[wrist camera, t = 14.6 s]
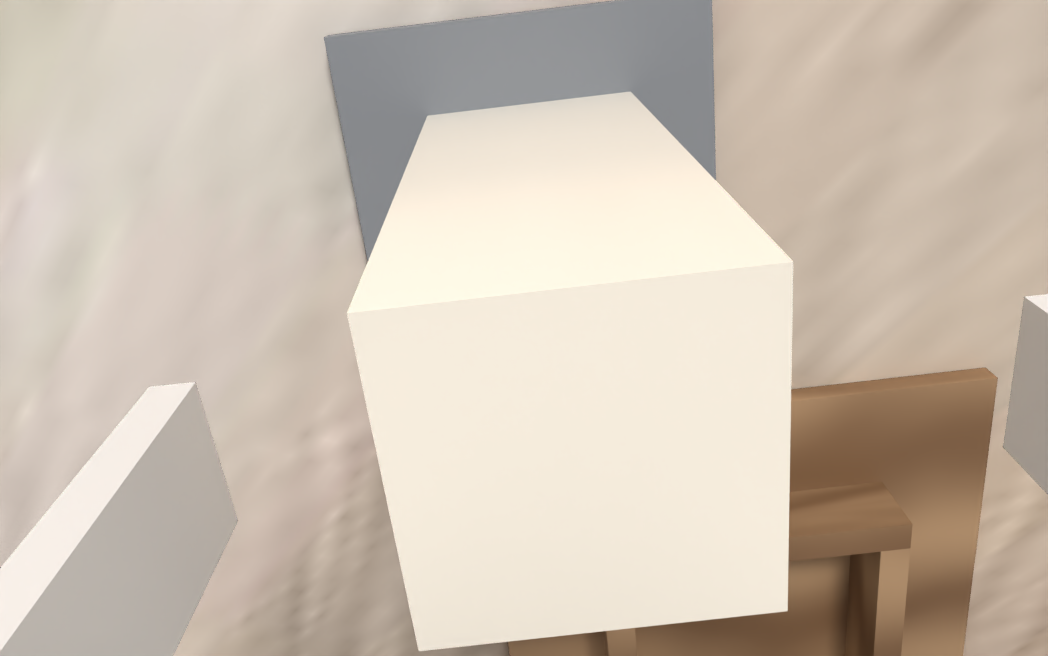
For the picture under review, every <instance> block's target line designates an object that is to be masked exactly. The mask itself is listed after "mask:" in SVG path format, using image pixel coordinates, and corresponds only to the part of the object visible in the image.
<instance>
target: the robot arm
mask: <svg viewBox="0 0 1048 656" xmlns="http://www.w3.org/2000/svg"><path fill="white" fill-rule="evenodd" d="M1003 448H1004V449H1005V450H1006V451H1007V452H1008V453H1009V454H1010V455H1011V456H1012V457H1013V458H1014V460H1015V461H1016V462H1017V463H1018V464H1019V465H1020V466H1021V467H1022V468H1023V469H1024V470H1025V471H1026V472H1027V473H1028V474H1029V475H1030V476H1031V477H1032V478H1033V480H1034V481H1035V482H1036V483H1037V484H1038V485H1039V486H1040V487H1041V488H1042V489H1043V490H1044V491H1045V492H1046V493H1047V494H1048V294H1045V295H1035V296H1026V297H1024V301H1023V309H1022V316H1021V323H1020V330H1019V337H1018V344H1017V351H1016V358H1015V365H1014V373H1013V380H1012V387H1011V394H1010V401H1009V408H1008V415H1007V422H1006V430H1005V437H1004V444H1003ZM237 522H238V519H237V516H236V512H235V509H234V506H233V503H232V499H231V496H230V493H229V489H228V486H227V483H226V480H225V476H224V473H223V470H222V467H221V463H220V460H219V457H218V453H217V450H216V447H215V444H214V440H213V437H212V434H211V431H210V427H209V424H208V421H207V418H206V414H205V411H204V408H203V404H202V401H201V398H200V395H199V391H198V388H197V385H196V382H191V383H181V384H171V385H162V386H152V387H149V388H148V389H147V390H146V391H145V393H144V394H143V395H142V396H141V397H140V399H139V400H138V401H137V402H136V404H135V405H134V406H133V407H132V408H131V410H130V411H129V412H128V413H127V414H126V416H125V417H124V418H123V419H122V421H121V422H120V423H119V424H118V425H117V427H116V428H115V429H114V430H113V432H112V433H111V434H110V435H109V436H108V438H107V439H106V440H105V441H104V443H103V444H102V445H101V446H100V447H99V449H98V450H97V451H96V452H95V453H94V455H93V456H92V457H91V458H90V460H89V461H88V462H87V463H86V464H85V466H84V467H83V468H82V469H81V471H80V472H79V473H78V474H77V475H76V477H75V478H74V479H73V480H72V481H71V483H70V484H69V485H68V486H67V488H66V489H65V490H64V491H63V492H62V494H61V495H60V496H59V497H58V499H57V500H56V501H55V502H54V503H53V505H52V506H51V507H50V508H49V510H48V511H47V512H46V513H45V514H44V516H43V517H42V518H41V519H40V520H39V522H38V523H37V524H36V525H35V527H34V528H33V529H32V530H31V531H30V533H29V534H28V535H27V536H26V538H25V539H24V540H23V541H22V542H21V544H20V545H19V546H18V547H17V548H16V550H15V551H14V552H13V553H12V555H11V556H10V557H9V558H8V559H7V561H6V562H5V563H4V564H3V566H2V567H0V656H173V655H174V653H175V651H176V649H177V647H178V645H179V643H180V641H181V639H182V637H183V634H184V632H185V630H186V628H187V626H188V624H189V622H190V620H191V618H192V616H193V614H194V612H195V609H196V607H197V605H198V603H199V601H200V599H201V597H202V595H203V593H204V591H205V589H206V587H207V584H208V582H209V580H210V578H211V576H212V574H213V572H214V570H215V568H216V566H217V564H218V562H219V560H220V557H221V555H222V553H223V551H224V549H225V547H226V545H227V543H228V541H229V539H230V537H231V535H232V532H233V530H234V528H235V526H236V524H237Z"/></svg>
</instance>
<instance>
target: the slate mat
mask: <svg viewBox="0 0 1048 656" xmlns="http://www.w3.org/2000/svg"><path fill="white" fill-rule="evenodd" d="M324 41H325V46H326V51H327V56H328V61H329V66H330V71H331V76H332V82H333V87H334V92H335V97H336V102H337V107H338V112H339V117H340V122H341V127H342V132H343V138H344V143H345V148H346V153H347V158H348V163H349V168H350V173H351V178H352V183H353V188H354V194H355V199H356V204H357V209H358V214H359V219H360V224H361V229H362V234H363V239H364V244H365V249H366V255H367V260H369V258H370V255H371V253H372V250H373V248H374V246H375V243H376V241H377V238H378V236H379V233H380V231H381V228H382V226H383V223H384V221H385V219H386V216H387V214H388V211H389V209H390V206H391V204H392V201H393V199H394V196H395V194H396V192H397V189H398V187H399V184H400V182H401V179H402V177H403V174H404V172H405V169H406V167H407V165H408V162H409V160H410V157H411V155H412V152H413V150H414V147H415V145H416V142H417V140H418V138H419V135H420V133H421V130H422V128H423V125H424V123H425V120H426V118H427V116H429V115H438V114H446V113H454V112H463V111H471V110H479V109H488V108H496V107H505V106H513V105H521V104H530V103H538V102H546V101H555V100H563V99H572V98H580V97H588V96H597V95H605V94H614V93H622V92H630V91H631V92H632V93H633V95H634V96H635V97H636V98H637V99H638V100H639V101H640V102H641V103H642V104H643V105H644V106H645V107H646V108H647V109H648V110H649V111H650V112H651V113H652V114H653V115H654V116H655V118H656V119H657V120H658V121H659V122H660V123H661V124H662V125H663V126H664V127H665V128H666V129H667V130H668V131H669V132H670V133H671V134H672V135H673V136H674V137H675V138H676V140H677V141H678V142H679V143H680V144H681V145H682V146H683V147H684V148H685V149H686V150H687V151H688V152H689V153H690V154H691V155H692V156H693V157H694V158H695V159H696V160H697V161H698V163H699V164H700V165H701V166H702V167H703V168H704V169H705V170H706V171H707V172H708V173H709V174H710V175H711V176H712V177H713V178H714V179H715V180H716V164H715V117H714V71H713V25H712V0H615V1H606V2H598V3H590V4H582V5H573V6H565V7H557V8H549V9H540V10H532V11H524V12H516V13H507V14H499V15H491V16H483V17H474V18H466V19H458V20H450V21H441V22H433V23H425V24H417V25H408V26H400V27H392V28H384V29H375V30H367V31H359V32H351V33H342V34H334V35H328V36H326V37H324Z"/></svg>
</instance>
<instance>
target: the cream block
mask: <svg viewBox="0 0 1048 656" xmlns="http://www.w3.org/2000/svg"><path fill="white" fill-rule="evenodd" d="M792 309H793V261H792V260H791V259H790V258H789V257H788V256H787V255H786V254H785V253H784V251H783V250H782V249H781V248H780V247H779V246H778V245H777V244H776V243H775V242H774V241H773V240H772V239H771V238H770V237H769V236H768V235H767V234H766V233H765V232H764V231H763V229H762V228H761V227H760V226H759V225H758V224H757V223H756V222H755V221H754V220H753V219H752V218H751V217H750V216H749V215H748V214H747V213H746V212H745V211H744V210H743V209H742V208H741V206H740V205H739V204H738V203H737V202H736V201H735V200H734V199H733V198H732V197H731V196H730V195H729V194H728V193H727V192H726V191H725V190H724V189H723V188H722V187H721V186H720V185H719V183H718V182H717V181H716V180H715V179H714V178H713V177H712V176H711V175H710V174H709V173H708V172H707V171H706V170H705V169H704V168H703V167H702V166H701V165H700V164H699V163H698V161H697V160H696V159H695V158H694V157H693V156H692V155H691V154H690V153H689V152H688V151H687V150H686V149H685V148H684V147H683V146H682V145H681V144H680V143H679V142H678V141H677V140H676V138H675V137H674V136H673V135H672V134H671V133H670V132H669V131H668V130H667V129H666V128H665V127H664V126H663V125H662V124H661V123H660V122H659V121H658V120H657V119H656V118H655V116H654V115H653V114H652V113H651V112H650V111H649V110H648V109H647V108H646V107H645V106H644V105H643V104H642V103H641V102H640V101H639V100H638V99H637V98H636V97H635V96H634V95H633V93H632V92H631V91H630V92H622V93H614V94H605V95H597V96H588V97H580V98H572V99H563V100H555V101H546V102H538V103H530V104H521V105H513V106H505V107H496V108H488V109H479V110H471V111H463V112H454V113H446V114H438V115H429V116H427V118H426V120H425V123H424V125H423V128H422V130H421V133H420V135H419V138H418V140H417V142H416V145H415V147H414V150H413V152H412V155H411V157H410V160H409V162H408V165H407V167H406V169H405V172H404V174H403V177H402V179H401V182H400V184H399V187H398V189H397V192H396V194H395V196H394V199H393V201H392V204H391V206H390V209H389V211H388V214H387V216H386V219H385V221H384V223H383V226H382V228H381V231H380V233H379V236H378V238H377V241H376V243H375V246H374V248H373V250H372V253H371V255H370V258H369V260H368V263H367V265H366V268H365V270H364V273H363V275H362V277H361V280H360V282H359V285H358V287H357V290H356V292H355V295H354V297H353V300H352V302H351V304H350V307H349V309H348V312H347V316H348V321H349V326H350V330H351V335H352V340H353V344H354V349H355V354H356V359H357V363H358V368H359V373H360V377H361V382H362V387H363V392H364V396H365V401H366V406H367V410H368V415H369V420H370V424H371V429H372V434H373V439H374V443H375V448H376V453H377V457H378V462H379V467H380V472H381V476H382V481H383V486H384V490H385V495H386V500H387V504H388V509H389V514H390V519H391V523H392V528H393V533H394V537H395V542H396V547H397V552H398V556H399V561H400V566H401V570H402V575H403V580H404V584H405V589H406V594H407V599H408V603H409V608H410V613H411V617H412V622H413V627H414V632H415V636H416V641H417V646H418V650H419V651H426V650H436V649H445V648H454V647H463V646H472V645H482V644H491V643H500V642H509V641H518V640H528V639H537V638H546V637H555V636H564V635H574V634H583V633H592V632H601V631H610V630H619V629H629V628H638V627H647V626H656V625H665V624H675V623H684V622H693V621H702V620H711V619H721V618H730V617H739V616H748V615H757V614H767V613H776V612H785V611H788V554H789V493H790V432H791V370H792Z"/></svg>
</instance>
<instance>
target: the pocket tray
mask: <svg viewBox="0 0 1048 656" xmlns="http://www.w3.org/2000/svg"><path fill="white" fill-rule="evenodd" d="M997 379H998V378H997V377H996V376H995V375H994V374H992V373H991V372H990V371H989V370H988V369H987V368H977V369H969V370H960V371H951V372H942V373H933V374H924V375H916V376H907V377H898V378H889V379H880V380H871V381H863V382H854V383H845V384H836V385H827V386H818V387H810V388H801V389H792V390H791V432H790V493H789V554H788V611H785V612H776V613H767V614H757V615H748V616H739V617H730V618H721V619H711V620H702V621H693V622H684V623H675V624H665V625H656V626H647V627H638V628H629V629H619V630H610V631H601V632H592V633H583V634H574V635H564V636H555V637H546V638H537V639H528V640H518V641H509V642H508V647H509V654H510V656H963V649H964V641H965V633H966V626H967V618H968V610H969V602H970V594H971V586H972V578H973V570H974V562H975V554H976V546H977V538H978V530H979V522H980V514H981V506H982V498H983V490H984V483H985V475H986V467H987V459H988V451H989V443H990V435H991V427H992V419H993V411H994V403H995V395H996V387H997Z"/></svg>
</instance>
